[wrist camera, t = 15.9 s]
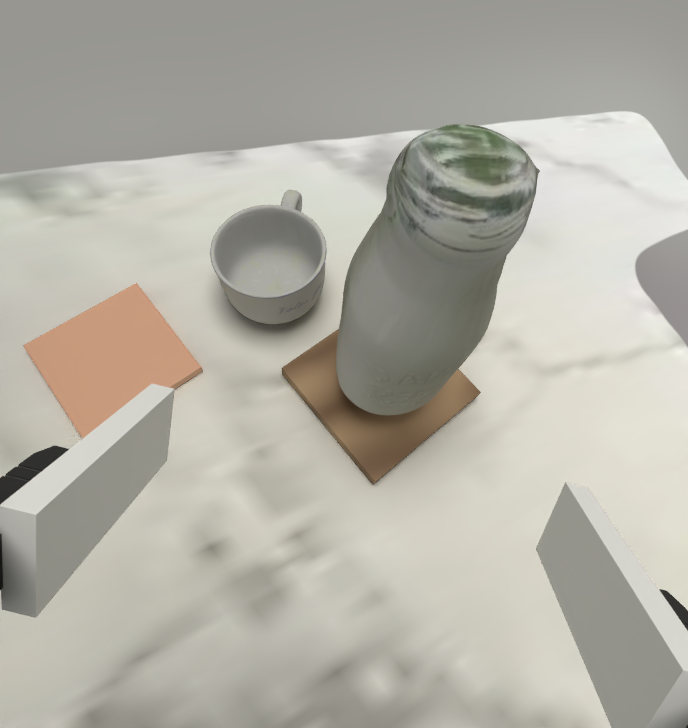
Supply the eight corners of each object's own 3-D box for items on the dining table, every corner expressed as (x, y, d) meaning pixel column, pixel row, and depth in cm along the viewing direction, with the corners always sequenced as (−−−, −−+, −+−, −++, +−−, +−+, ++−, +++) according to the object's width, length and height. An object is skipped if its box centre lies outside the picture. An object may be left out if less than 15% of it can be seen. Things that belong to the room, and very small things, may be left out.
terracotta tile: (28, 350, 47) (23, 345, 46) (139, 288, 51) (136, 282, 50) (89, 444, 44) (84, 441, 43) (202, 371, 48) (200, 367, 47)
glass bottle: (413, 328, 50) (540, 69, 25) (440, 421, 46) (624, 229, 21) (320, 341, 48) (353, 78, 23) (340, 439, 45) (406, 253, 19)
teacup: (294, 353, 50) (293, 314, 42) (202, 310, 51) (186, 265, 43) (350, 255, 55) (359, 206, 48) (266, 219, 56) (262, 165, 49)
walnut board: (282, 374, 48) (281, 368, 47) (385, 302, 53) (387, 295, 52) (372, 484, 45) (375, 481, 43) (475, 397, 49) (480, 392, 48)
